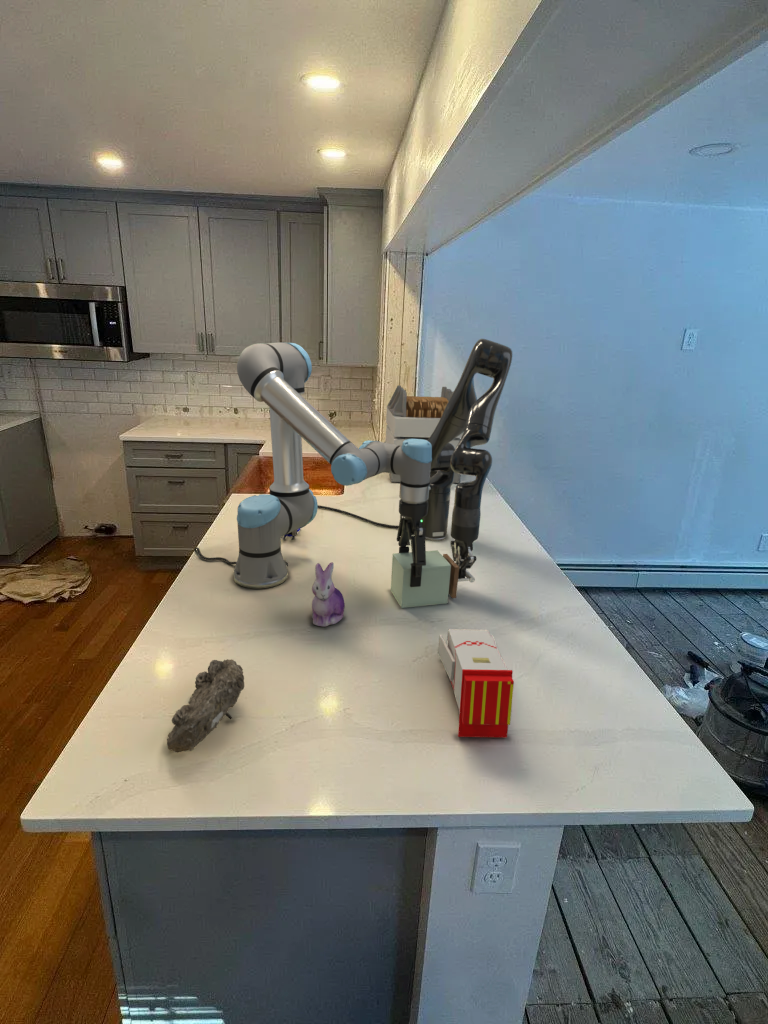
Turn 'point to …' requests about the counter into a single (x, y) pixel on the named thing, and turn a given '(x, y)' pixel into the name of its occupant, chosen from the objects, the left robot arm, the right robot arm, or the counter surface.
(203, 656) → the counter surface
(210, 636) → the counter surface
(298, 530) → the figurine character
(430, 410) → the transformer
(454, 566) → the drawer
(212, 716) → the fossil
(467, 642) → the toy
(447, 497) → the right robot arm
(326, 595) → the figurine
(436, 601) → the sage green cube
